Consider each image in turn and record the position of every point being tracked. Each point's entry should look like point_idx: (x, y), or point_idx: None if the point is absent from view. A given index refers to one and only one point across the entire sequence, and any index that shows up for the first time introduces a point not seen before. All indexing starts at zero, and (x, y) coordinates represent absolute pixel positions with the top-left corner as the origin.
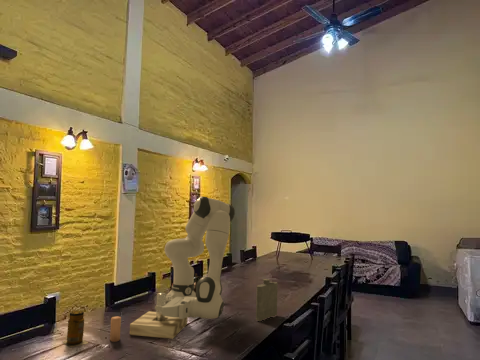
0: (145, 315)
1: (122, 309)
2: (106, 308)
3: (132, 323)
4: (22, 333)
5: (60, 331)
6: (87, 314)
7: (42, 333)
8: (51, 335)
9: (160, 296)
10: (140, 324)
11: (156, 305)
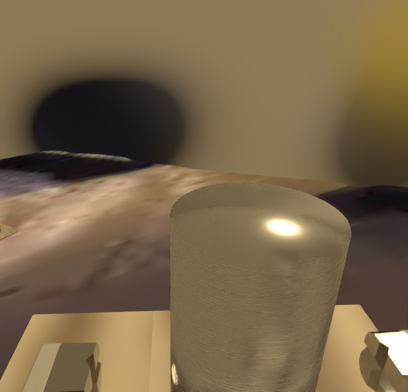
0: None
1: (381, 216)
2: (345, 189)
3: (45, 322)
4: (69, 157)
5: (88, 187)
6: (259, 180)
7: (69, 173)
8: (50, 186)
9: (170, 252)
10: (10, 383)
11: (59, 349)
